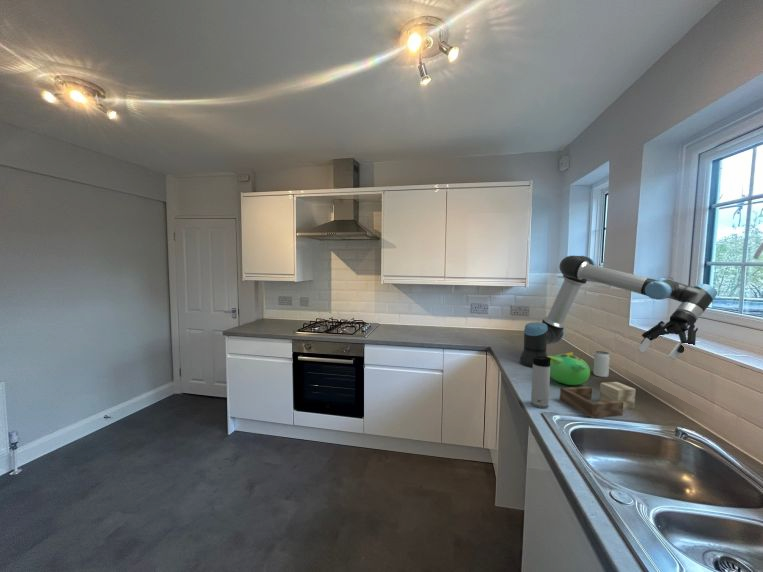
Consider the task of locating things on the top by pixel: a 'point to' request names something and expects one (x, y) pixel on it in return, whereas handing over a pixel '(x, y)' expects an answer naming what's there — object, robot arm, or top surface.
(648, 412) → the top surface
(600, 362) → the can
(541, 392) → the travel mug
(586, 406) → the wooden tray
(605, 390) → the block
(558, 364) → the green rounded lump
